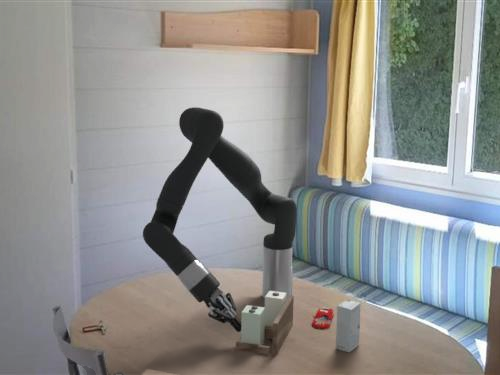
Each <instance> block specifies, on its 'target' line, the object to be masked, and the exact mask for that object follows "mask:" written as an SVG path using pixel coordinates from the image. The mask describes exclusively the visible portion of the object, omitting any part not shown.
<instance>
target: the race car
mask: <svg viewBox="0 0 500 375" xmlns="http://www.w3.org/2000/svg"><path fill="white" fill-rule="evenodd" d="M334 316H335V313H334V309H332V308H331V307H330V308H329V307H319V308H318V310H317V311H316V313H315V315H313V316H312V318H313V321H312V322H311V327H312V328H314V329H317V330H328V329H330V326H331V324H332V321H333V319H334Z"/></svg>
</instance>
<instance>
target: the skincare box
mask: <svg viewBox="0 0 500 375" xmlns="http://www.w3.org/2000/svg"><path fill="white" fill-rule="evenodd" d="M361 304H362V303H361V302H359V301H354V300H350V299H347V300H344V301H342V302H341V303H340V304H339V305H337V307H336V310H337V311H336V328H335V329H336V330H335V332H336V334H335V335H336V336H335V348H336V349H337V350H340V351H343V352H347V353H351V352H352V351H354V349H356V348H358V347H359V344H360V328H361Z"/></svg>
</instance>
